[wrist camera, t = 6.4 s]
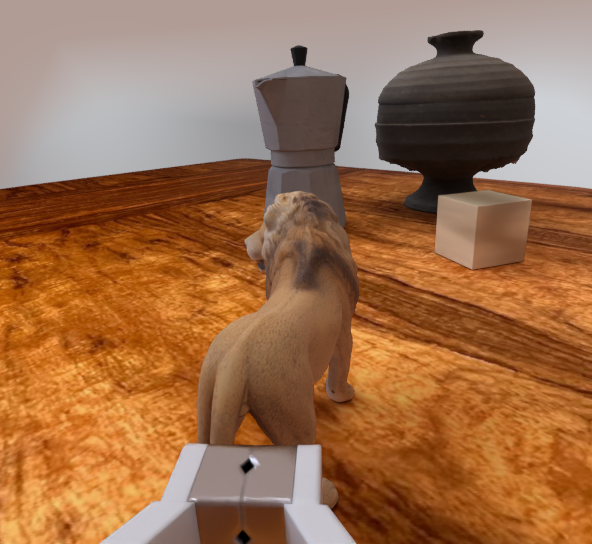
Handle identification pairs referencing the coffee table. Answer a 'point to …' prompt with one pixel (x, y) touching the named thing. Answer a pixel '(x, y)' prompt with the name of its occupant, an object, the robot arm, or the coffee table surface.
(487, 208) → the beige block
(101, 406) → the coffee table surface
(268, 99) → the coffeepot
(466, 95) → the pot
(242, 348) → the lion figurine
